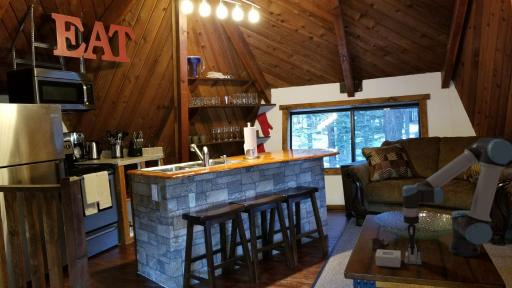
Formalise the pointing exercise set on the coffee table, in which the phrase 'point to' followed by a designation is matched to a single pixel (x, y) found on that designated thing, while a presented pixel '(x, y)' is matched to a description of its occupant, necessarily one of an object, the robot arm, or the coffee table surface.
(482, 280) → the coffee table surface
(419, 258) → the holster
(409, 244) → the plug
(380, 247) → the electronic device
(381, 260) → the panel
